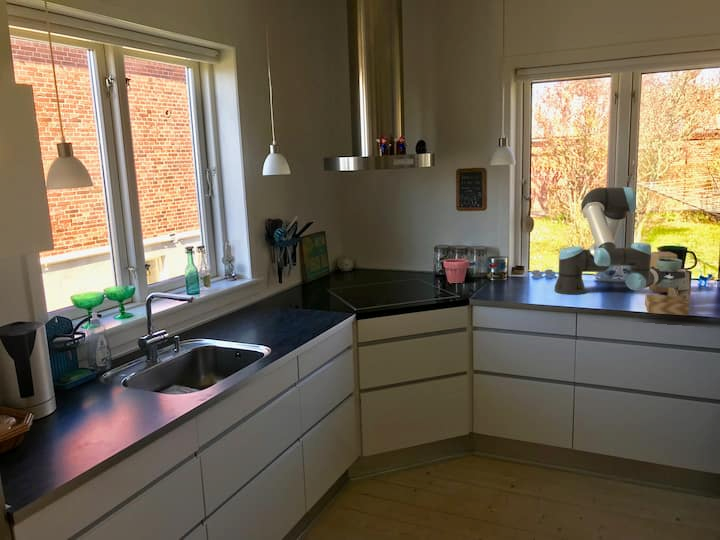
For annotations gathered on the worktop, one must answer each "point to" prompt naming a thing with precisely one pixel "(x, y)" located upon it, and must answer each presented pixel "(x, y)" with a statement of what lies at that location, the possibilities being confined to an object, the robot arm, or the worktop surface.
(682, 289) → the coffee box
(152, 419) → the worktop surface
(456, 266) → the plant pot
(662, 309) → the wooden box
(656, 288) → the wooden block
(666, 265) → the green ceramic cup
